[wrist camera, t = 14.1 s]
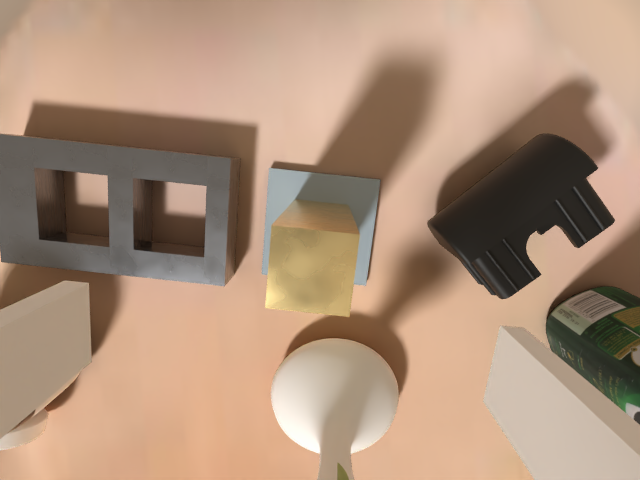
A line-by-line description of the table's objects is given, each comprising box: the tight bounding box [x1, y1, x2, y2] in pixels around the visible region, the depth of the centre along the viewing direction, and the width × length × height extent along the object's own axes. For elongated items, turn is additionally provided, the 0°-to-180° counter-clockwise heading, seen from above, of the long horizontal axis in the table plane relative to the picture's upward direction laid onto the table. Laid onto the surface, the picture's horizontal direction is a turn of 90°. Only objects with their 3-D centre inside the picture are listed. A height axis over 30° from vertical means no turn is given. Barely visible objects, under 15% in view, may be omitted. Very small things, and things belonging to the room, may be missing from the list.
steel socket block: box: [0, 134, 241, 286], centre depth 29 cm, size 18×10×3 cm, turn 84°
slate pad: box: [262, 168, 381, 286], centre depth 30 cm, size 9×9×1 cm
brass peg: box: [265, 199, 360, 317], centre depth 24 cm, size 4×4×12 cm
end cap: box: [428, 134, 615, 299], centre depth 27 cm, size 10×7×7 cm
